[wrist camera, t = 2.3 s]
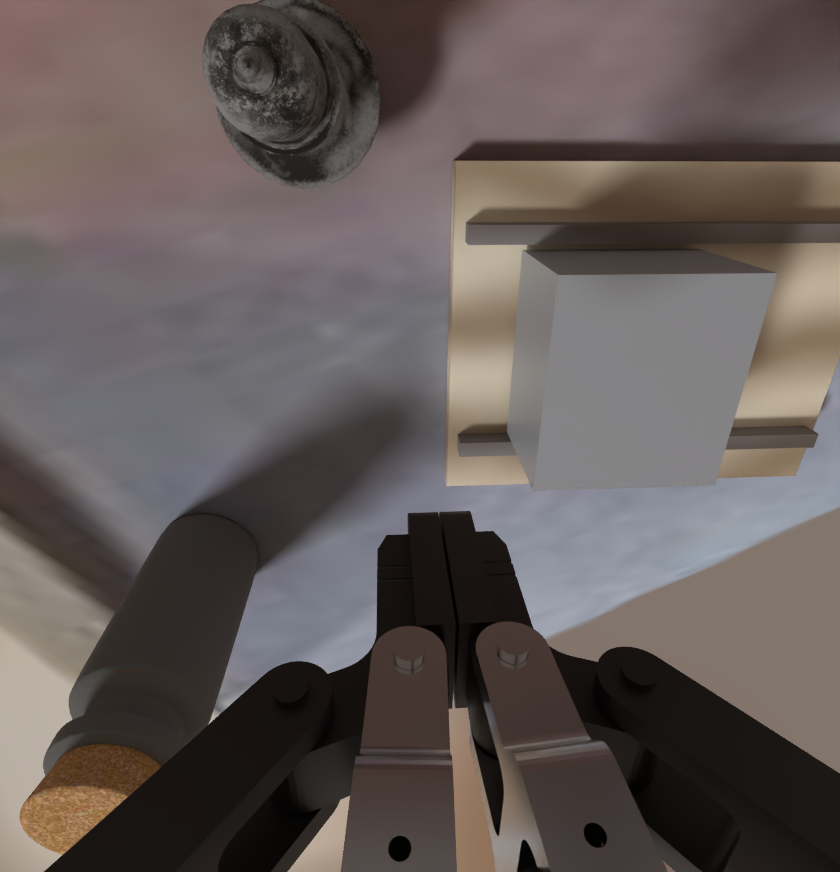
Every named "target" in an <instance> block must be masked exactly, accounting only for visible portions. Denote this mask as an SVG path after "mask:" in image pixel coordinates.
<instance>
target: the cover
mask: <svg viewBox="0 0 840 872" xmlns="http://www.w3.org/2000/svg"><path fill="white" fill-rule="evenodd" d="M777 274H778V273H776V272H772V271H769V270H766V269H763V268H759V267H756V266H753V265H749V264H746V263H743V262H740V261H736V260H733V259H730V258H727V257H723V256H720V255H717V254H714V253H710V252H707V251H704V250H700V249H580V250H522V259H521V271H520V282H519V294H518V306H517V317H516V329H515V341H514V353H513V364H512V376H511V388H510V399H509V411H508V423H507V433H508V435H509V438H510V440H511V442H512V444H513V447H514V449H515V451H516V454H517V456H518V458H519V460H520V463H521V465H522V467H523V469H524V472H525V474H526V476H527V478H528V481H529V483H530V485H531V487H532V490H533V491H545V490H578V489H610V488H643V487H676V486H709V485H715V482H716V479H717V476H718V472H719V469H720V466H721V462H722V459H723V455H724V452H725V449H726V445H727V442H728V439H729V435H730V432H731V429H732V425H733V422H734V419H735V415H736V412H737V408H738V405H739V402H740V398H741V395H742V392H743V388H744V385H745V382H746V378H747V375H748V371H749V368H750V365H751V361H752V358H753V355H754V351H755V348H756V345H757V341H758V338H759V334H760V331H761V328H762V324H763V321H764V318H765V314H766V311H767V308H768V304H769V301H770V297H771V294H772V291H773V287H774V284H775V281H776V277H777Z"/></svg>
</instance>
